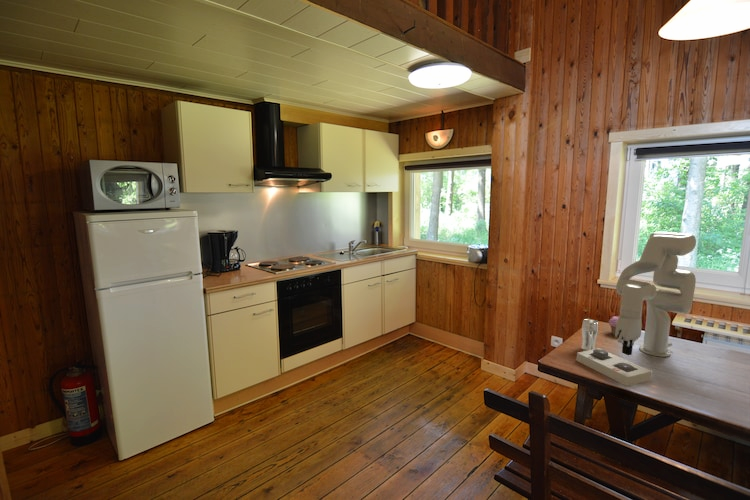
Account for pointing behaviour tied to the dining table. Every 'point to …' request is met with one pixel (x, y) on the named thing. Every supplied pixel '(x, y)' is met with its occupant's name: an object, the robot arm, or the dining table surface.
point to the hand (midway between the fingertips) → (626, 353)
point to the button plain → (600, 354)
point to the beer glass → (589, 334)
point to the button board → (614, 368)
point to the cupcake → (613, 324)
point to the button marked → (625, 367)
